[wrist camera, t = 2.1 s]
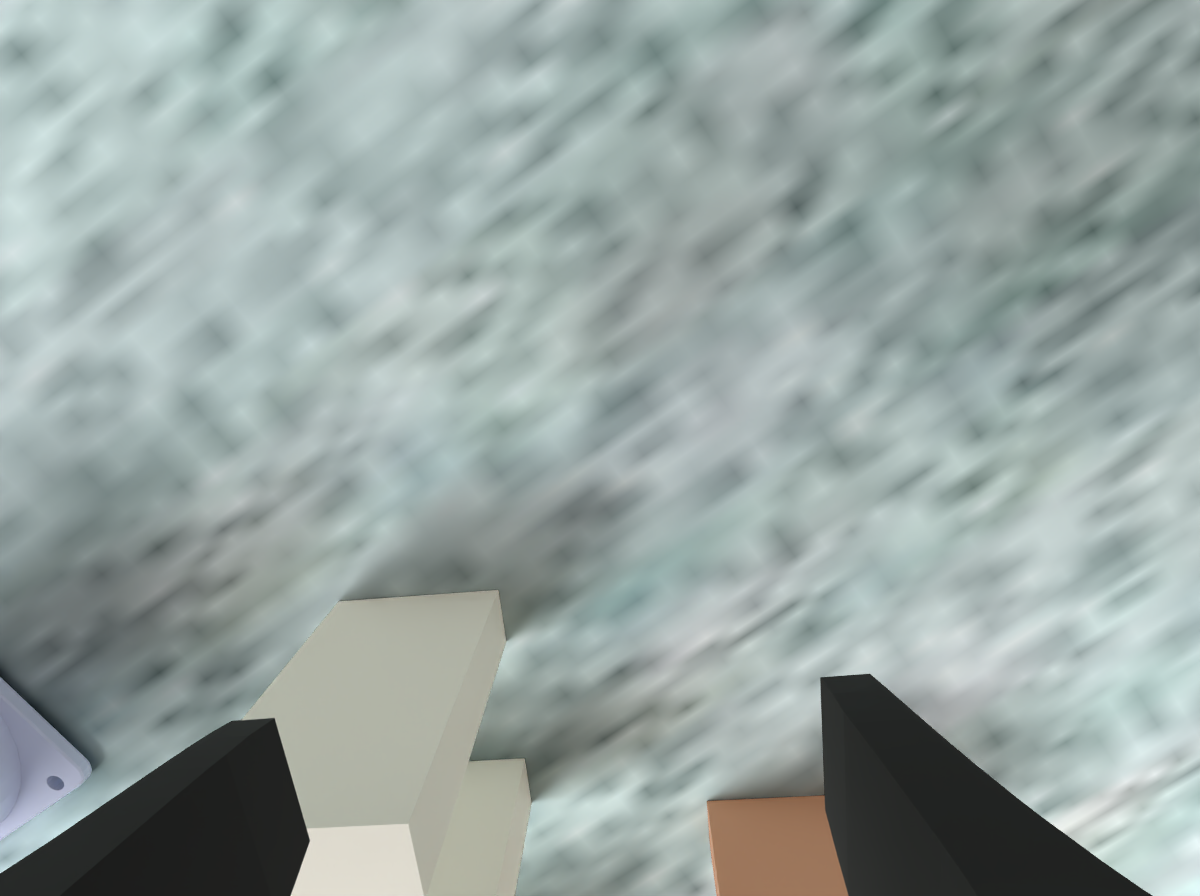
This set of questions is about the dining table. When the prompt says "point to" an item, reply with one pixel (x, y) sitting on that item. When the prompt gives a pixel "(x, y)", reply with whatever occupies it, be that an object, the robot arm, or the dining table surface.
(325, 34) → the dining table surface
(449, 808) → the ivory domino
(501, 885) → the ivory domino
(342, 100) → the dining table surface
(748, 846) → the rust domino
